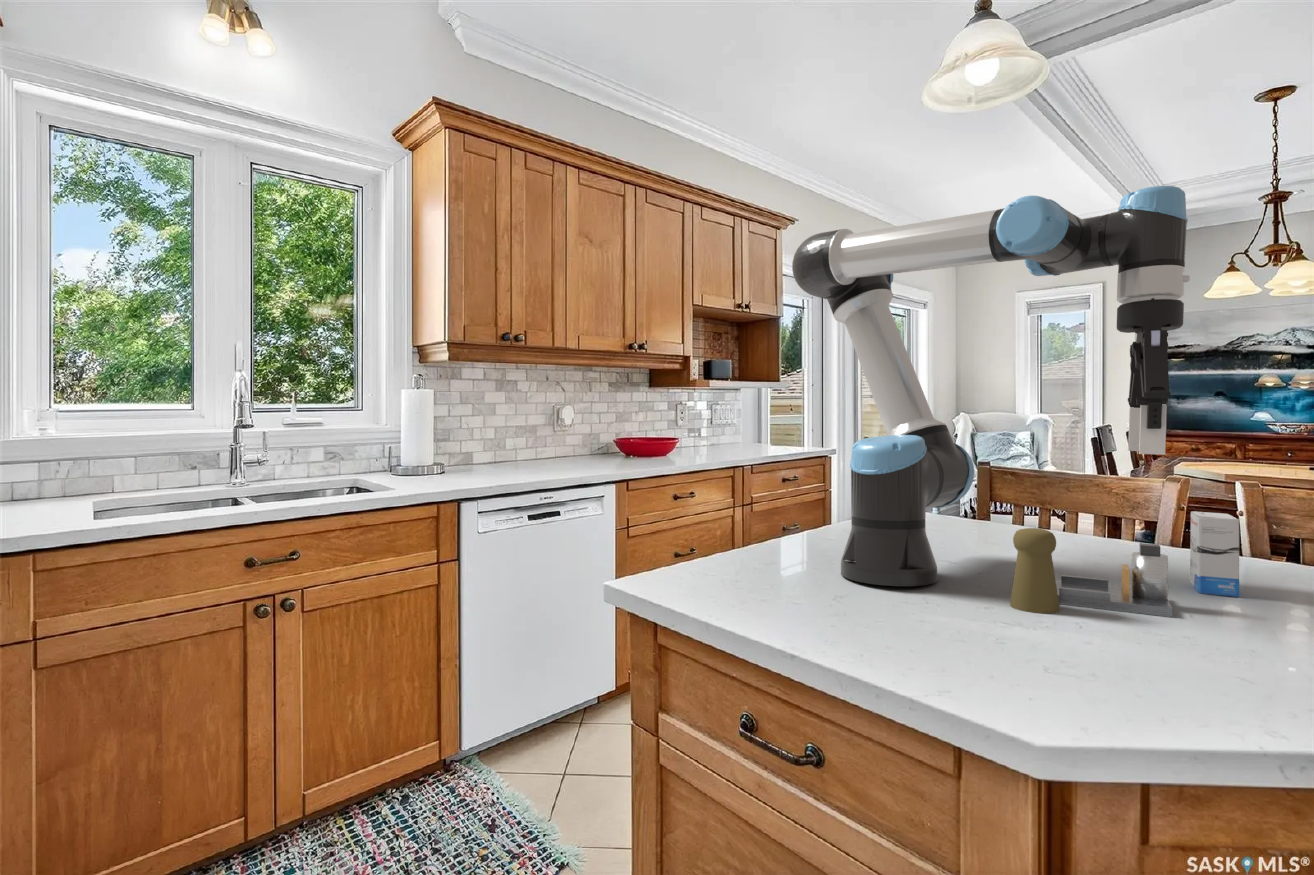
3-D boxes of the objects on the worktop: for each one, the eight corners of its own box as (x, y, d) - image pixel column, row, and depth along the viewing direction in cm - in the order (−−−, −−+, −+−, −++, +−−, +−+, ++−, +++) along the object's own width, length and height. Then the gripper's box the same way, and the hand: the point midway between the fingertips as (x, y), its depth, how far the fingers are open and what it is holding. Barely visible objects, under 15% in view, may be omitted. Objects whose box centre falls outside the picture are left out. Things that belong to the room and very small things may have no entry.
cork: (1067, 614, 88) (1067, 532, 88) (1018, 612, 89) (1018, 531, 89) (1049, 603, 93) (1049, 526, 93) (1004, 601, 95) (1003, 525, 95)
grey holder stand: (1040, 601, 94) (1040, 542, 94) (1044, 586, 103) (1044, 532, 103) (1172, 617, 86) (1172, 552, 86) (1163, 599, 95) (1163, 540, 95)
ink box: (1241, 598, 96) (1241, 518, 96) (1197, 594, 99) (1197, 516, 99) (1228, 586, 103) (1228, 512, 103) (1188, 583, 106) (1188, 510, 106)
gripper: (1202, 282, 79) (1196, 456, 80) (1169, 313, 101) (1164, 450, 101) (1126, 288, 83) (1121, 454, 84) (1110, 316, 104) (1106, 449, 105)
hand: (1145, 452), depth 92 cm, fingers open, 13 cm apart
